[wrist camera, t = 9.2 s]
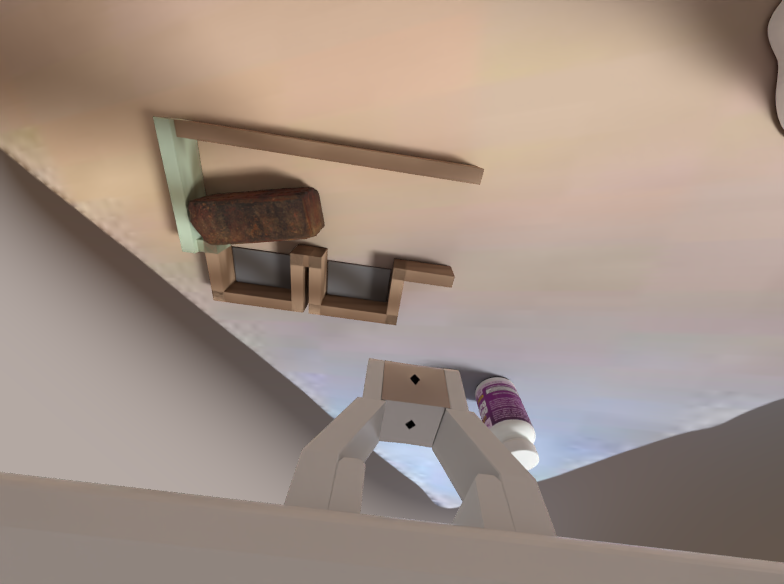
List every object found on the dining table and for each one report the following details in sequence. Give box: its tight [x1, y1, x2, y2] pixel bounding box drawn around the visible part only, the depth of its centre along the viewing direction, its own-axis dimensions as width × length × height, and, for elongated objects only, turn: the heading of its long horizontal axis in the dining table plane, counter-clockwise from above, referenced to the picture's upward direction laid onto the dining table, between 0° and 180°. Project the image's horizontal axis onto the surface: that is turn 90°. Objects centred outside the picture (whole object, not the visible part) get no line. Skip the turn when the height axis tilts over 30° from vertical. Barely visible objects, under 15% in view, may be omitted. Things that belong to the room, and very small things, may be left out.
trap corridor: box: [153, 117, 484, 325], centre depth 28 cm, size 16×26×3 cm, turn 82°
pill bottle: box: [475, 377, 539, 470], centre depth 34 cm, size 5×5×10 cm
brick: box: [188, 187, 325, 245], centre depth 26 cm, size 11×4×5 cm, turn 95°
